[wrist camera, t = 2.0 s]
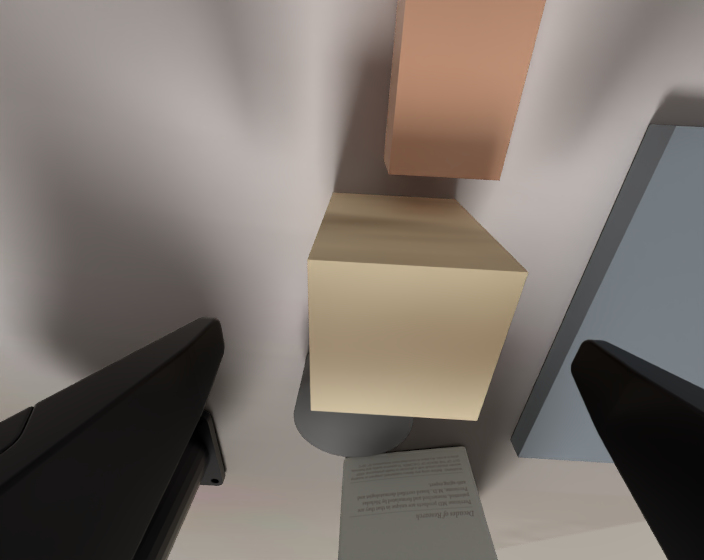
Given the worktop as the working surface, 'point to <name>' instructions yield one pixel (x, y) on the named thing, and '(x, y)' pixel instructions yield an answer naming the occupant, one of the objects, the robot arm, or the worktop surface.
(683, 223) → the slate board
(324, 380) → the beech block
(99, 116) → the worktop surface
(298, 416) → the smooth grey pebble
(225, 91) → the worktop surface
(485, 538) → the supplement box
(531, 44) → the terracotta tile
